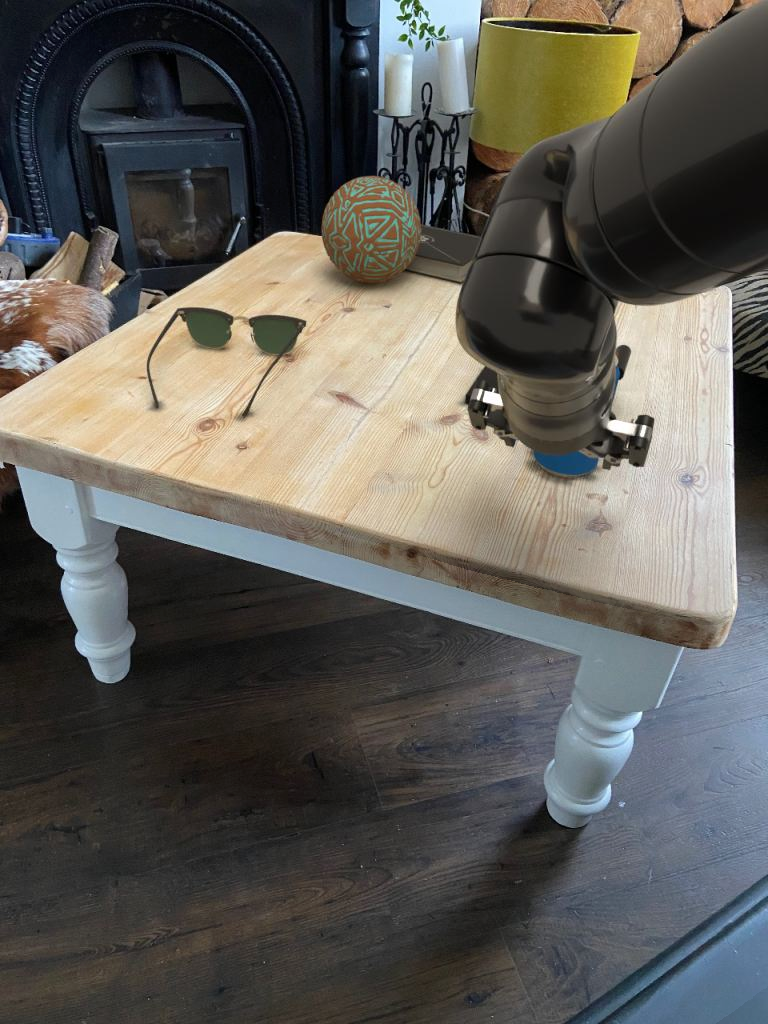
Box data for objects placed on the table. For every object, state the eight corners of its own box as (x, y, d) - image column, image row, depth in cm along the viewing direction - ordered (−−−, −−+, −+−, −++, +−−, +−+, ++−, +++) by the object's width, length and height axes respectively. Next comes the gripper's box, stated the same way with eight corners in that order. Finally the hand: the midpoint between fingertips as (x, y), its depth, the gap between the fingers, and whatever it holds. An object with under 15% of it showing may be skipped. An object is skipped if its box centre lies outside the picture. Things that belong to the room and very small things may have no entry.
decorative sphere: (377, 306, 108) (380, 197, 99) (302, 280, 115) (298, 176, 106) (437, 279, 117) (445, 178, 108) (364, 256, 124) (366, 160, 115)
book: (497, 257, 126) (500, 239, 125) (461, 283, 116) (463, 264, 114) (387, 233, 134) (387, 216, 133) (343, 256, 124) (343, 238, 122)
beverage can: (604, 459, 77) (632, 353, 70) (582, 489, 73) (609, 379, 66) (546, 440, 80) (567, 336, 73) (522, 467, 76) (541, 359, 68)
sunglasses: (128, 405, 83) (120, 364, 80) (183, 341, 96) (178, 304, 93) (272, 421, 81) (269, 380, 78) (308, 354, 94) (307, 317, 91)
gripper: (679, 355, 49) (653, 425, 64) (471, 315, 53) (494, 390, 68) (649, 464, 48) (630, 508, 63) (440, 415, 52) (471, 467, 67)
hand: (560, 447), depth 66 cm, fingers open, 8 cm apart
